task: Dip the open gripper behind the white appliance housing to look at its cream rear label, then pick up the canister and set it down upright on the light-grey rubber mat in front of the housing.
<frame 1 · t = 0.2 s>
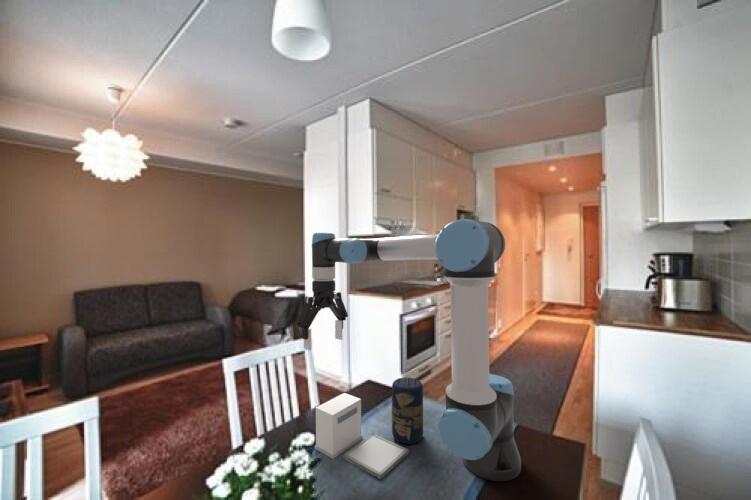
hand: (323, 343, 108), 27 cm above the table, fingers open, 13 cm apart
canister: (407, 437, 100), on the table
mat: (376, 456, 91), on the table
unit: (339, 443, 98), on the table
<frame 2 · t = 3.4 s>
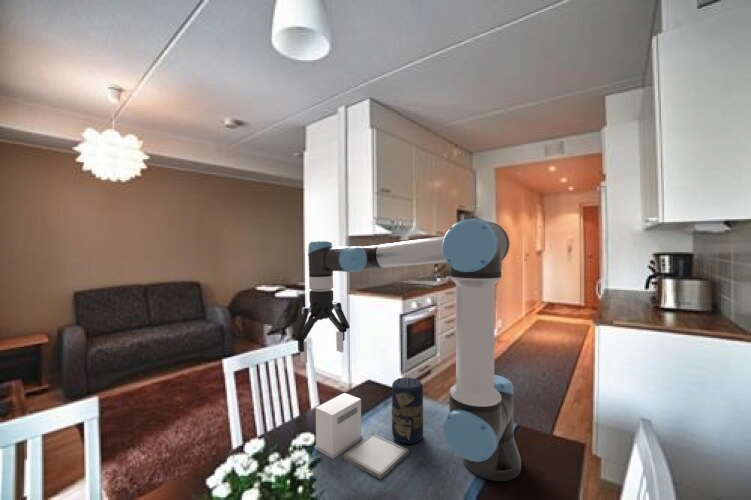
hand: (322, 356, 104), 24 cm above the table, fingers open, 13 cm apart
nothing on the table moved.
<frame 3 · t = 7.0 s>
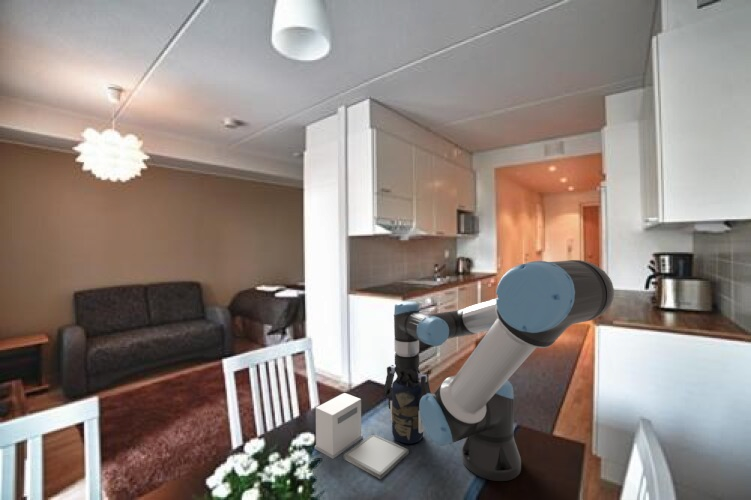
hand: (407, 425, 100), 4 cm above the table, fingers closed on canister, 9 cm apart
canister: (407, 437, 100), on the table, touching gripper
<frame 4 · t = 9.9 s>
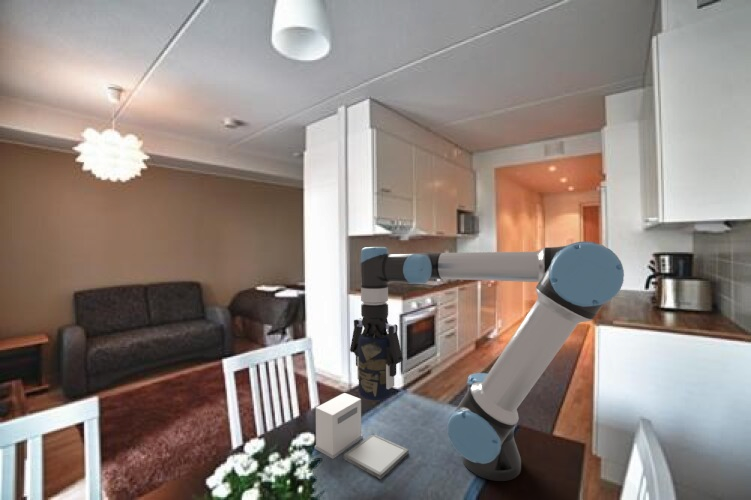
hand: (375, 382, 91), 21 cm above the table, fingers closed on canister, 9 cm apart
canister: (375, 396, 91), point 17 cm above the table, touching gripper
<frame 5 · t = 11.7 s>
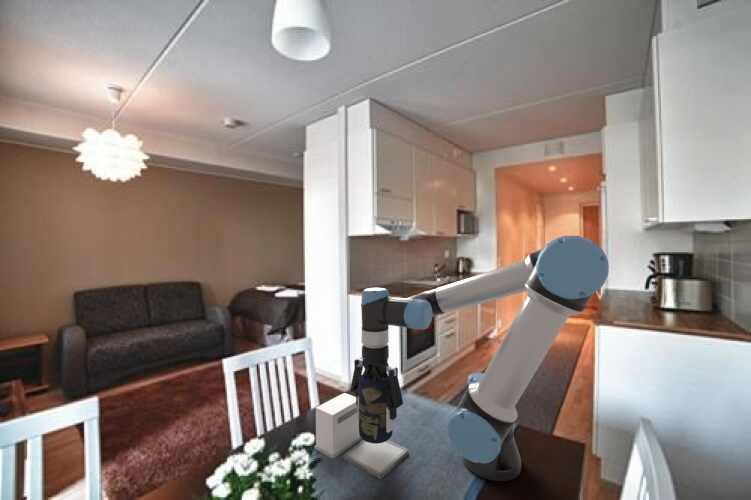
hand: (375, 423, 91), 9 cm above the table, fingers closed on canister, 9 cm apart
canister: (375, 437, 91), point 5 cm above the table, touching gripper
when the fingers open (6 cm above the table, at t = 13.0 s): canister drops 1 cm, resting on mat.
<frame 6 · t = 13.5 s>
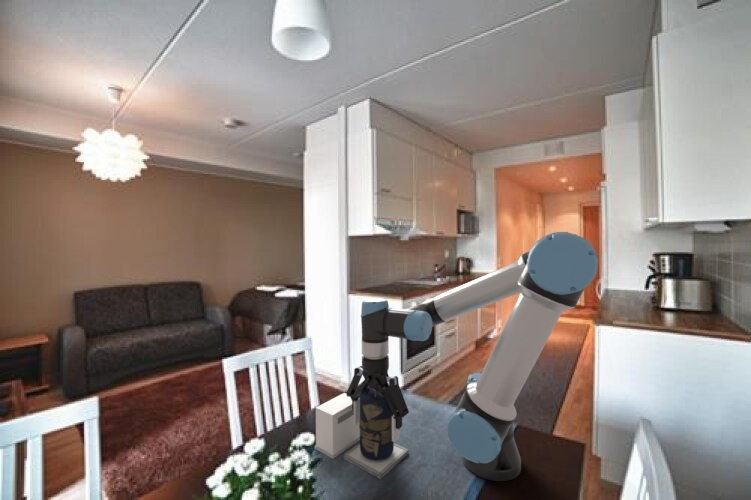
hand: (376, 430, 91), 7 cm above the table, fingers open, 13 cm apart
canister: (376, 453, 91), point 1 cm above the table, touching mat
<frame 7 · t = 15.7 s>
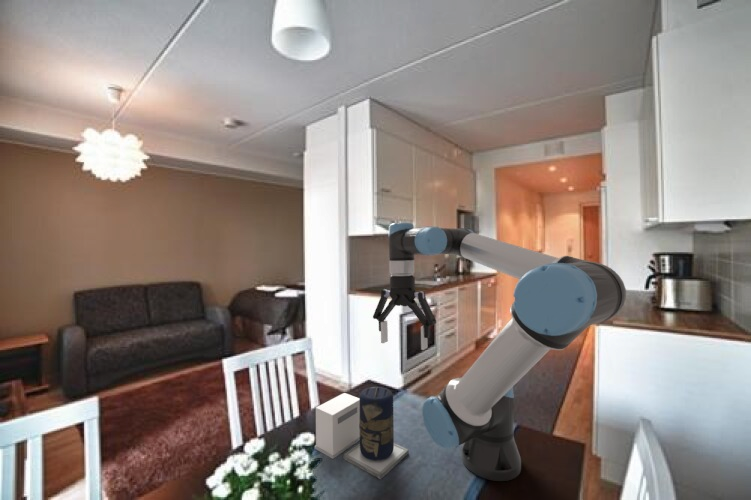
hand: (403, 345, 98), 29 cm above the table, fingers open, 13 cm apart
nothing on the table moved.
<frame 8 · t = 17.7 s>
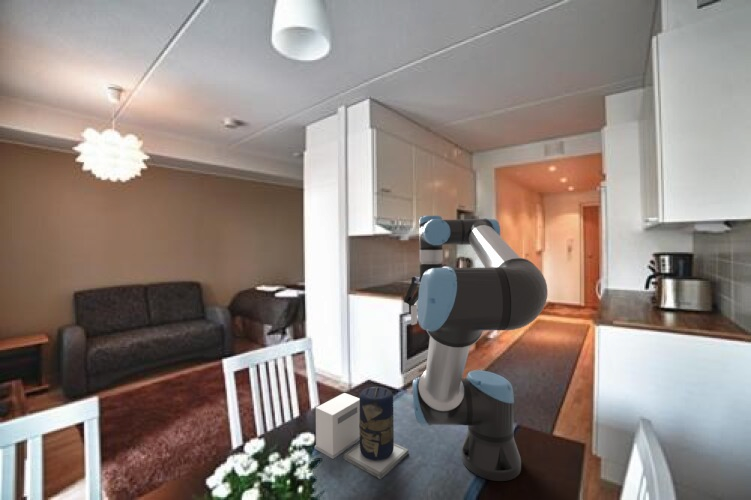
hand: (431, 327, 108), 32 cm above the table, fingers open, 13 cm apart
nothing on the table moved.
at the end: canister inside the target area on the mat (0.1 cm from its centre), point 0.8 cm above the mat's base; canister tilted 0°; the gripper is holding nothing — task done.
